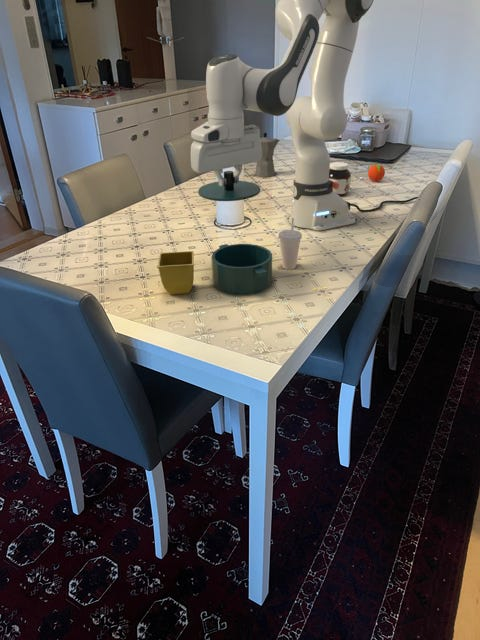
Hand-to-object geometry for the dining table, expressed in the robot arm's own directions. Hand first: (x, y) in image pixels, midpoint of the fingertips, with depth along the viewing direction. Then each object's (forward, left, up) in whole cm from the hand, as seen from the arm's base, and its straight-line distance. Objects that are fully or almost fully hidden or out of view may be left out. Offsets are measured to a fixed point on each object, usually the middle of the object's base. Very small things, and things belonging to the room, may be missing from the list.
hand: (228, 184), depth 130 cm
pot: (0, +13, -23) cm, 26 cm away
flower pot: (+17, +13, -23) cm, 31 cm away
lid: (0, 0, -2) cm, 2 cm away
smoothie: (-15, +8, -23) cm, 28 cm away
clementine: (-79, -61, -23) cm, 102 cm away
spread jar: (-56, -52, -23) cm, 80 cm away
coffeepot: (-37, -88, -23) cm, 98 cm away
